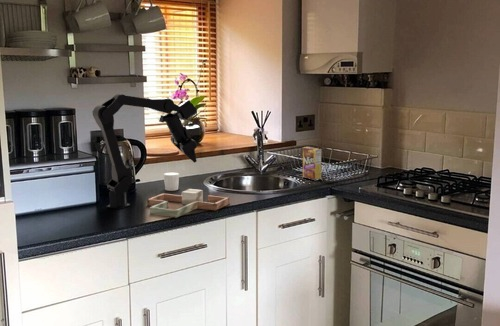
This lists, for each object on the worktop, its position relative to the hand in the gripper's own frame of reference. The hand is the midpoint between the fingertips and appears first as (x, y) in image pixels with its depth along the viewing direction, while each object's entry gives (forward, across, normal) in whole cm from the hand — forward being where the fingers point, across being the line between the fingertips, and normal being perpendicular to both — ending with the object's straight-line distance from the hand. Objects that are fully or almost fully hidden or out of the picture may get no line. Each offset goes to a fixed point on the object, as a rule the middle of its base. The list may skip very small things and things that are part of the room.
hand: (192, 159), depth 233 cm
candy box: (+42, +6, -47) cm, 63 cm away
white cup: (+13, +14, +12) cm, 22 cm away
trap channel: (+8, -18, +15) cm, 25 cm away
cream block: (+11, -13, +10) cm, 20 cm away
